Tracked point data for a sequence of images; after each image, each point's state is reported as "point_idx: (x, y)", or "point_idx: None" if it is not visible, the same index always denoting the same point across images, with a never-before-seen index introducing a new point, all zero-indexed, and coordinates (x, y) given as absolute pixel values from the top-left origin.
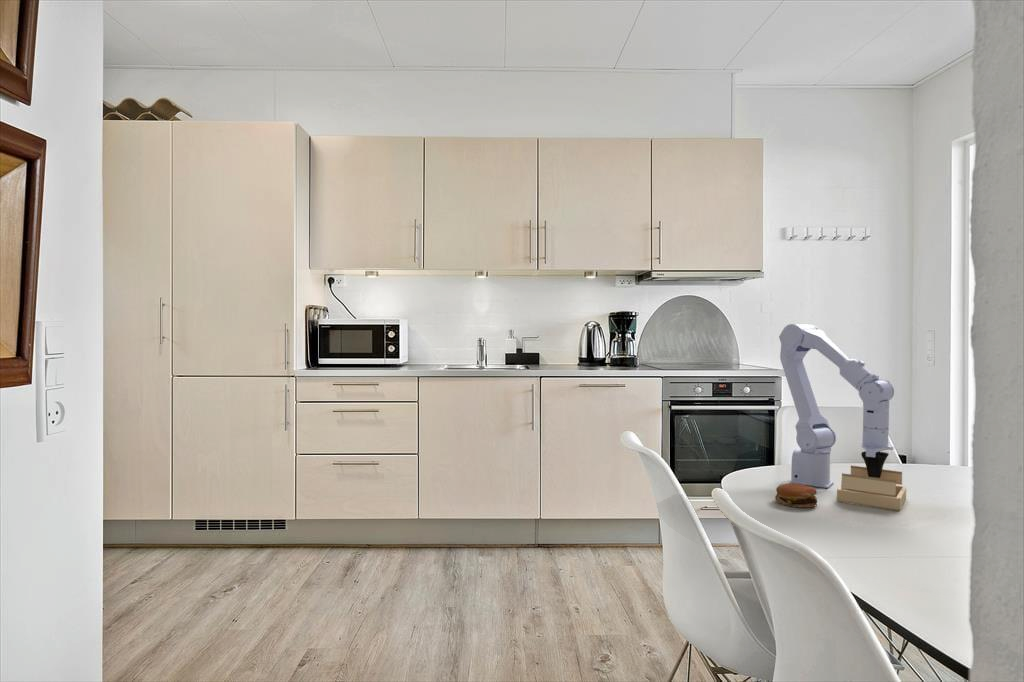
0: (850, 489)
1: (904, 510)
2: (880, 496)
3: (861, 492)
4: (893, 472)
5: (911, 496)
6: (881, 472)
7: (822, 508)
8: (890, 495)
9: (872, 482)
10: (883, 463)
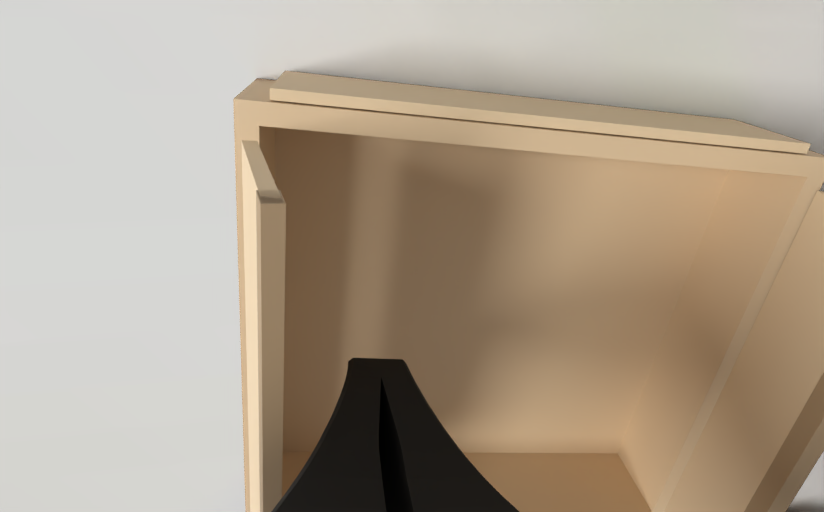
0: None
1: (708, 84)
2: (765, 288)
3: (325, 385)
4: (280, 297)
5: (109, 15)
6: (345, 407)
7: None
8: (285, 202)
9: (788, 415)
10: (382, 499)
